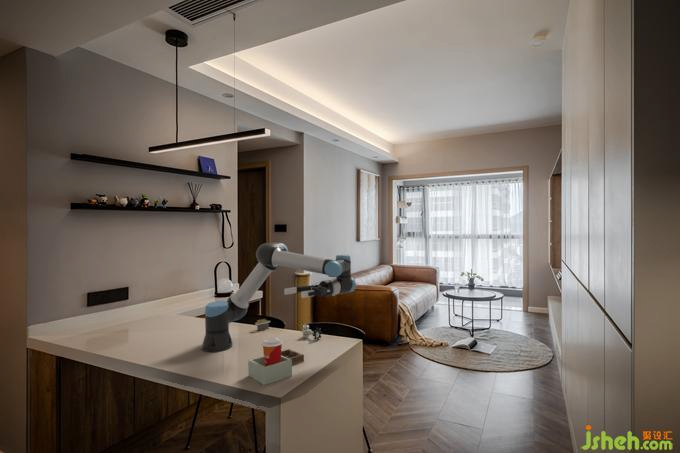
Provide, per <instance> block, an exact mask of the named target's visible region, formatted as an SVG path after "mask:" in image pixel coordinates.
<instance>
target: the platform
mask: <svg viewBox="0 0 680 453" xmlns="http://www.w3.org/2000/svg"><path fill="white" fill-rule="evenodd" d="M269 323H271V320H266V318H263V319H258V320H256V322H255V323H254V324H255V326H257V332H260V331H259V330H261V331H264V330H269Z"/></svg>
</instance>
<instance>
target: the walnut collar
mask: <svg viewBox="0 0 680 453" xmlns="http://www.w3.org/2000/svg"><path fill="white" fill-rule="evenodd" d="M281 355H282V356H284V357H286V358H289V359H291V360H292V366H294V365H297V364H300V363H304V361H305V354H303V353H301V352H299V351H296V350H293V349H290V348H287V349H284V350H281Z"/></svg>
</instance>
